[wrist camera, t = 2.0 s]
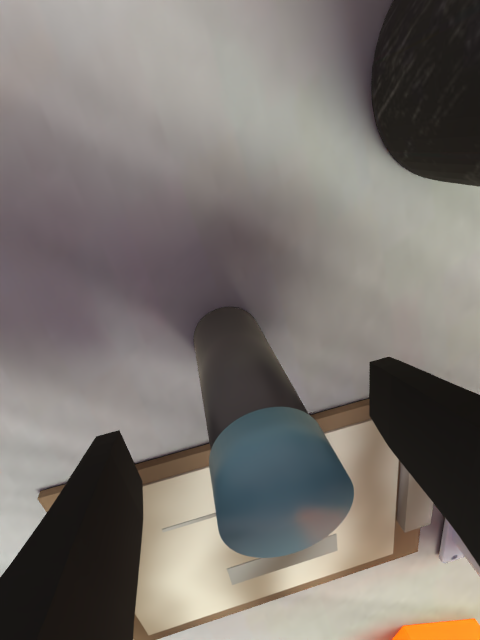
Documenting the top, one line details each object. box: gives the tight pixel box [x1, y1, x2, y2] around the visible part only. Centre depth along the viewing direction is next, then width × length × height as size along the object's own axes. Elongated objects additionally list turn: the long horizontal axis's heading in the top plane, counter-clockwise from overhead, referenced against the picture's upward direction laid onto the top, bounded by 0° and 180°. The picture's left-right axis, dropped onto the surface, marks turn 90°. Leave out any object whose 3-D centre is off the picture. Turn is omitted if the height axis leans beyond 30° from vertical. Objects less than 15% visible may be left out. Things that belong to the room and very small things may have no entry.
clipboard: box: [38, 399, 434, 640], centre depth 20 cm, size 20×15×1 cm
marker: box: [194, 307, 354, 558], centre depth 11 cm, size 3×3×8 cm
